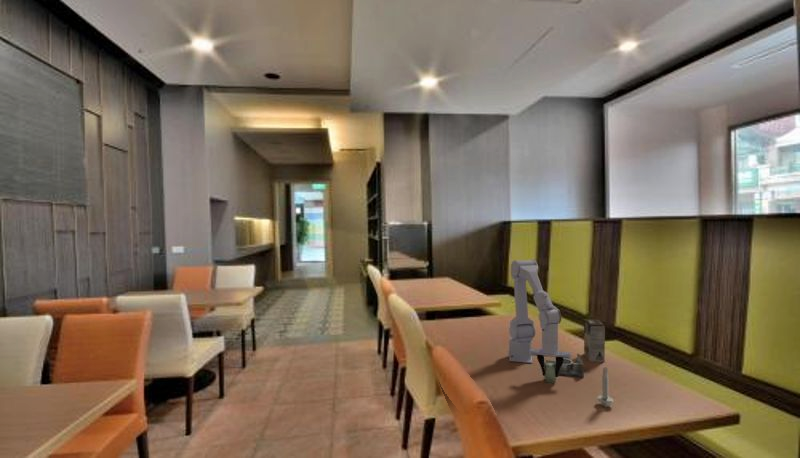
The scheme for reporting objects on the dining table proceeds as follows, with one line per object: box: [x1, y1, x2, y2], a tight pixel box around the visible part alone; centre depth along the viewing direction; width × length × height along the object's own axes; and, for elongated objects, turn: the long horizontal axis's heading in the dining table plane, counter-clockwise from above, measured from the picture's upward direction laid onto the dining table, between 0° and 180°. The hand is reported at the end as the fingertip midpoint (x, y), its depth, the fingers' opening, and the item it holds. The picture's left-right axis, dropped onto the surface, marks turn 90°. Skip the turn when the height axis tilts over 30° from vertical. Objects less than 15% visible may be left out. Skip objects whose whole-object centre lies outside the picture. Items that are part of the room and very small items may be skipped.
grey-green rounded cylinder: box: [543, 362, 557, 384], centre depth 143 cm, size 4×4×6 cm
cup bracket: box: [545, 353, 585, 378], centre depth 153 cm, size 13×12×5 cm
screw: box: [596, 366, 614, 408], centre depth 124 cm, size 13×5×5 cm
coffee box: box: [583, 318, 606, 363], centre depth 165 cm, size 9×6×16 cm
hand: (550, 375), depth 143 cm, fingers closed on grey-green rounded cylinder, 4 cm apart
